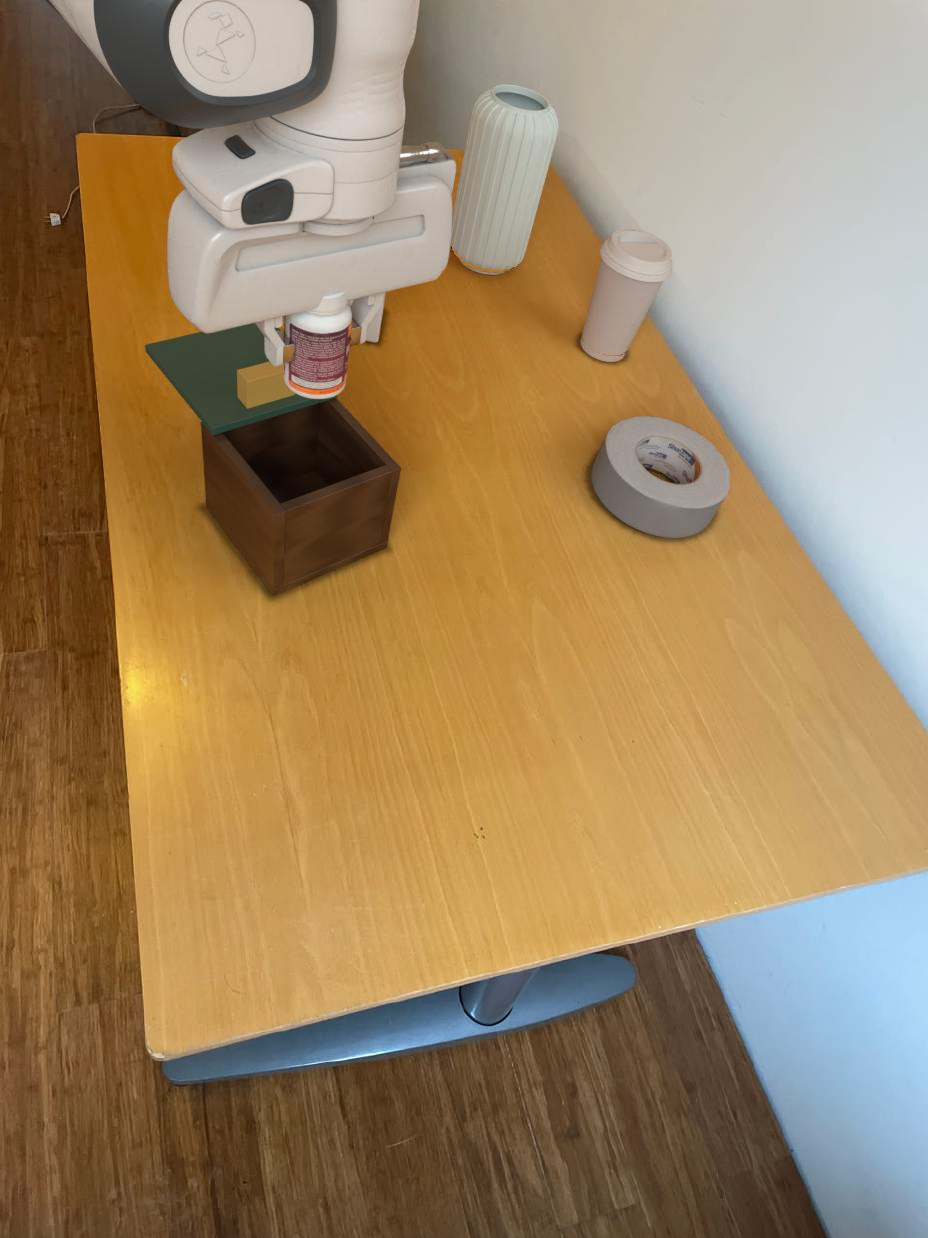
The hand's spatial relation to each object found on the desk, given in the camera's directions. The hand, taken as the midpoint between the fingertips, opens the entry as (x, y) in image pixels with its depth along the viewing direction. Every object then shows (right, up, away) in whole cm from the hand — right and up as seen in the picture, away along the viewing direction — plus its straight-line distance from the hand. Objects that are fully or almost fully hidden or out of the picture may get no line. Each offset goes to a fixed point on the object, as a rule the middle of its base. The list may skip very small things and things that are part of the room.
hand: (315, 350), depth 60 cm
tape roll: (+33, -5, +37) cm, 50 cm away
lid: (-10, +3, +17) cm, 20 cm away
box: (-6, -11, +22) cm, 25 cm away
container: (-4, +18, +45) cm, 49 cm away
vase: (+14, +33, +61) cm, 71 cm away
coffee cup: (+30, +18, +53) cm, 64 cm away
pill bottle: (0, -2, +2) cm, 3 cm away
